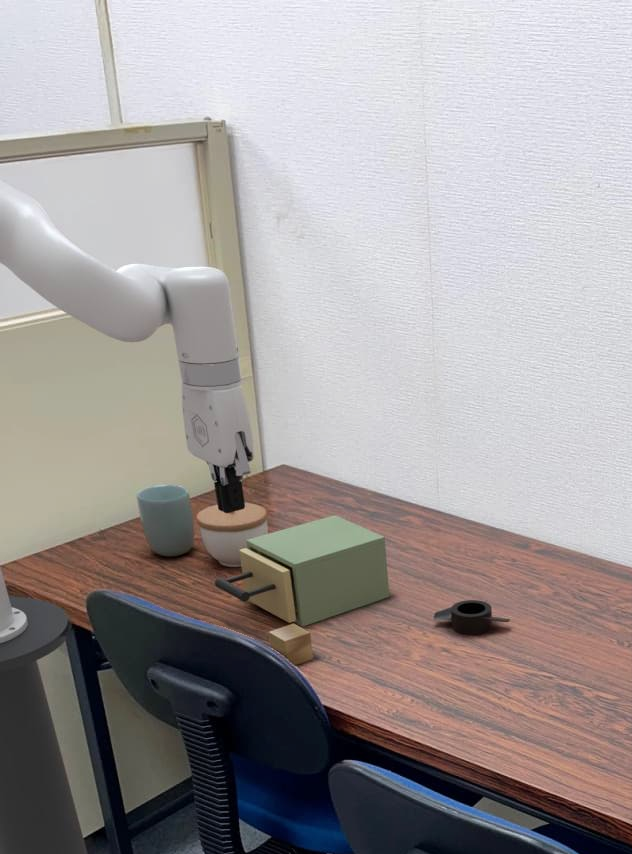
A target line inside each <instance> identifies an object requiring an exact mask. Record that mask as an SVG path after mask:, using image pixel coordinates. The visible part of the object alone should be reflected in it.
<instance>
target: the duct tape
mask: <svg viewBox="0 0 632 854" xmlns="http://www.w3.org/2000/svg"><path fill="white" fill-rule="evenodd" d="M492 611H493V608H492V605H491V604H490V603H488V602H486V601H483V600H478V599H467V600H462V601H461V600H460V601H458V602H456V603H454V604H452V606H451V607H448V608H445V609H441V610H439V611H435V612H434V615H433V621H436V620H437V621H443V620H444V621H450V622H451V629H452V631H453V632H455V633H456V634H459V635H464V636H480V635H484V634H486V633H489V632H490V631H492V630H493V629H492V628H493V622H500V623H509V622H510V621H511V619H510V618H504V617H496V616H493V612H492Z"/></svg>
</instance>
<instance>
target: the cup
mask: <svg viewBox="0 0 632 854" xmlns="http://www.w3.org/2000/svg"><path fill="white" fill-rule="evenodd" d="M136 503H137V508H138V512H139V513H138V514H139V518H140V523H141V526H142V530H143V534H144V537H145V540H146V542H147V545H148V546H149V548H150V549H151V550H152V551H153V552H154V553H156V554H157V555H159V556H161V557H169V558H170V557H178V556H181V555H184V554H186V553H188V552H189V551H190V550H191V549H192V548H193V546H194V543H195V536H196V535H195V520H194V514H193V508H192V503H191V497H190V493H189V490H188V489H187V488H186V487H184V486H181V485H177V484H176V485H175V484H159V485H153V486H148V487H146V488H143V489H141V490H139V491H138V492H137V493H136Z"/></svg>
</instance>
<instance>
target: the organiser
mask: <svg viewBox="0 0 632 854" xmlns="http://www.w3.org/2000/svg"><path fill="white" fill-rule="evenodd" d="M246 542H247V549H249V550H251V551H253V552H255V553H257V550H258V551H260V552H262V553H264V554H266V555H268V556H270V557H272V558H274V559H276V560H278V561H280V562H282V563H284V564H286V565H288V566H290V567H292V569H293V577H294V585H295V593H296V601H297V609H298V613H297V612H295V615H296V621H294V622H293V623H294V624H296V625H298V626H299V627H301V628H304V627H305V626H308V625H311V624H315V623H317V622H321V621H323V620H327V619H329V618H332V617H336V616H338V615H340V614H343V613H346V612H347V613H348V612H349V611H353V610H355V609H358V608H361V607H364V606H367V605H370V604H372V603H373V604H374V603H375V602H379V601H381V600H384V599H387V598H390V586H389V575H388V562H387V561H388V560H387V549H386V537H385V536H384V535H381V534H379V533H376V532H375V531H372V530H370V529H368V528H365V527H363V526H361V525H358V524H357V523H354V522H352V521H349V520H347V519H344V518H343V517H340V516H338V515H336V514H334V515H331V516H327V517H322V518H319V519H316V520H312V521H309V522H305V523H302V524H298V525H295V526H291V527H288V528H284V529H280V530H277V531H273V532H269V533H268V534H266V535H262V536H259V537H255V538H252V539H248V540H246ZM257 554H258V553H257Z"/></svg>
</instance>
